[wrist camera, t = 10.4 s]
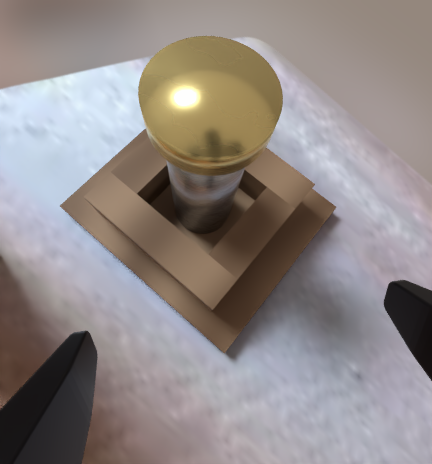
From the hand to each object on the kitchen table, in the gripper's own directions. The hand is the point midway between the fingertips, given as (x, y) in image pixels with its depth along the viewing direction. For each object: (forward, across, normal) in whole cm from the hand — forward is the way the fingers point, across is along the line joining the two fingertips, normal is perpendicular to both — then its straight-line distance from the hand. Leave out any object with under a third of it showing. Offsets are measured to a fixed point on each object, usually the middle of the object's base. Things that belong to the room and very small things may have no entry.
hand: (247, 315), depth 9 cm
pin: (+14, 0, +3) cm, 15 cm away
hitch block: (+15, 0, +3) cm, 15 cm away
